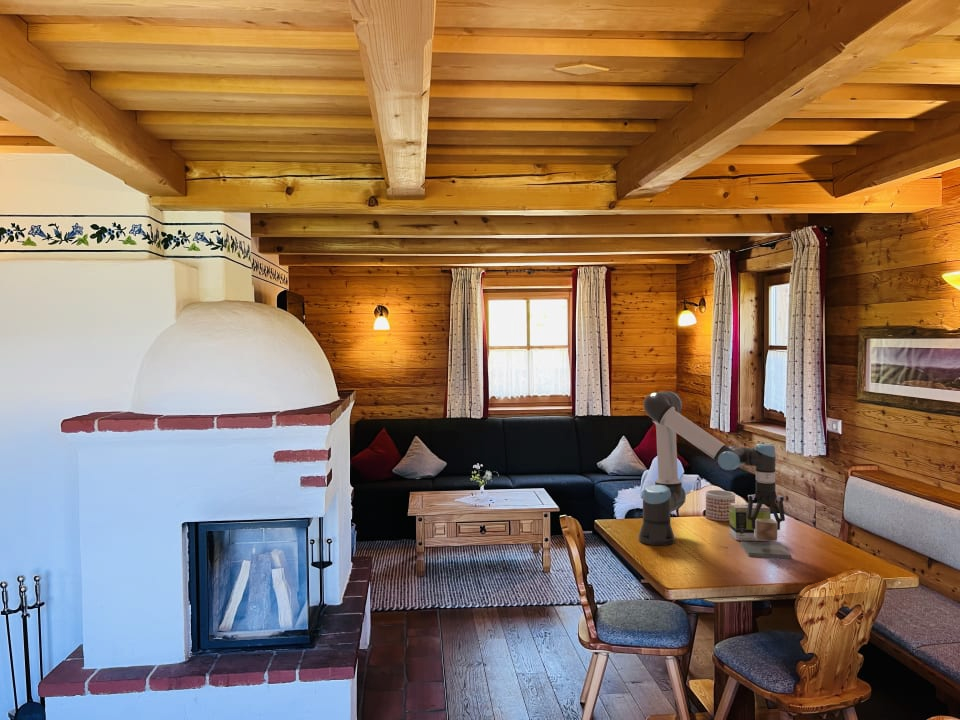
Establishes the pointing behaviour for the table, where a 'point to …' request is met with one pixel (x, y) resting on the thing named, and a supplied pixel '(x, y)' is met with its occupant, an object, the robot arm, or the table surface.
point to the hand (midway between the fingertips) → (765, 537)
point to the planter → (719, 505)
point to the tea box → (745, 521)
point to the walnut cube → (766, 529)
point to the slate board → (765, 550)
